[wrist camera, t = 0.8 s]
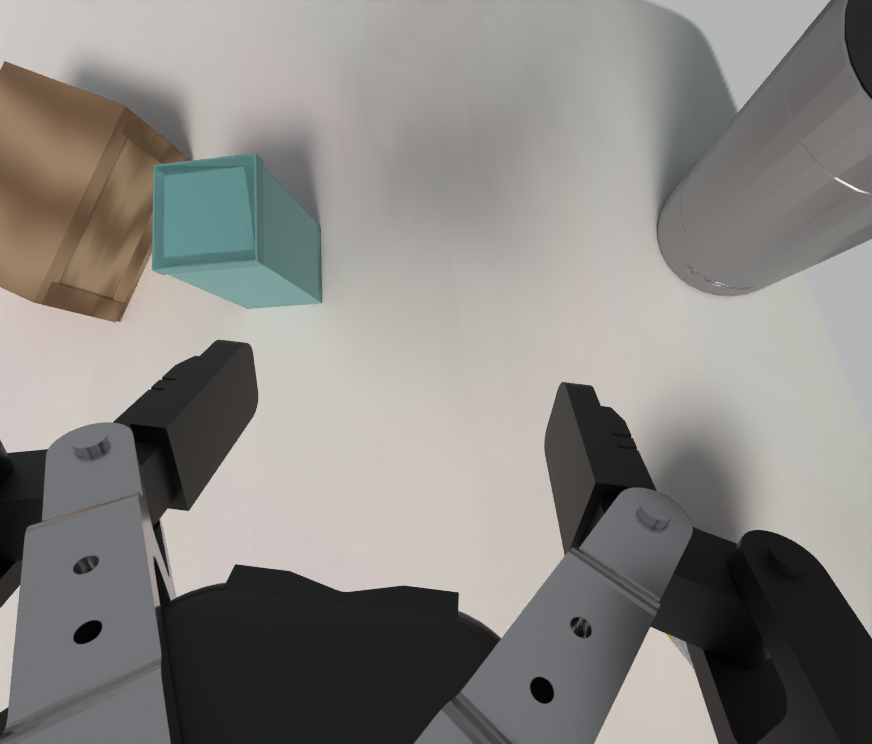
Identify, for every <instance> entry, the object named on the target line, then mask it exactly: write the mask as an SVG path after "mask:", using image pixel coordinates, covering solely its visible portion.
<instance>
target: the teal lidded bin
mask: <svg viewBox="0 0 872 744" xmlns="http://www.w3.org/2000/svg"><path fill="white" fill-rule="evenodd" d="M152 271H154V272H157V273H159V274H162V275H166V274H167V275H170V276H172V277H174V278H177V279H179V280H181V281H184V282H186V283H189V284H191V285H193V286H196V287H198V288H200V289H203V290H205V291H207V292H210V293H212V294H214V295H217V296H219V297H221V298H224V299H226V300H228V301H231V302H233V303H235V304H238V305H240V306H242V307H245V308H247V309H250V308H263V307H276V306H290V305H303V304H316V303H322V282H321V238H320V226H319V225H318V224H317V223H316V222H315V221H314V220H313V219H312V217H311V216H310V215H309V214H308V213H307V212H306V211H305V210H304V209H303V208H302V207H301V205H300V204H299V203H298V202H297V201H296V200H295V199H294V198H293V197H292V196H291V195H290V193H289V192H288V191H287V190H286V189H285V188H284V187H283V186H282V185H281V184H280V183H279V181H278V180H277V179H276V178H275V177H274V176H273V175H272V174H271V173H270V172H269V171H268V169H267V168H266V167H265V166H264V165H263V160H262V159H261V158H260V157H259V156H258V155H257V154H256V153H254V154H245V155H237V156H228V157H219V158H211V159H202V160H194V161H185V162H176V163H168V164H159V165H153V242H152Z"/></svg>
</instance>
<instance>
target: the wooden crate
mask: <svg viewBox="0 0 872 744" xmlns="http://www.w3.org/2000/svg"><path fill="white" fill-rule="evenodd" d="M185 161H190V160H189V159H188V158H187V157H185V156H184V155H183V154H182V153H181V152H179V151H178V150H177V149H176V148H175V147H174V146H172V145H171V144H170V143H169V142H168V141H166V140H165V139H164V138H163V137H162V136H160V135H159V134H158V133H157V132H156V131H154V130H153V129H152V128H151V127H150V126H148V125H147V124H146V123H145V122H144V121H143V120H141V119H140V118H139V117H138V116H137V115H135V114H134V113H133V112H132V111H130V110H129V109H128V108H127V107H126V106H124V105H121V104H118V103H116V102H113V101H110V100H108V99H105V98H102V97H100V96H97V95H94V94H91V93H89V92H86V91H83V90H81V89H78V88H75V87H73V86H70V85H67V84H65V83H62V82H59V81H57V80H54V79H51V78H48V77H46V76H43V75H40V74H38V73H35V72H32V71H30V70H27V69H24V68H22V67H19V66H16V65H13V64H11V63H8V62H5V61H4V64H3V66H2V68H1V70H0V287H2V288H4V289H6V290H8V291H10V292H12V293H15V294H17V295H19V296H21V297H23V298H25V299H27V300H30V301H32V302H34V303H39V304H42V305H46V306H50V307H55V308H59V309H63V310H67V311H71V312H75V313H79V314H84V315H88V316H92V317H96V318H100V319H104V320H109V321H113V322H116V321H119V322H120V320H121V318H122V316H123V313H124V311H125V309H126V307H127V305H128V302H129V300H130V298H131V296H132V294H133V292H134V289H135V287H136V285H137V283H138V281H139V278H140V276H141V274H142V272H143V270H144V267H145V265H146V263H147V261H148V259H149V257H150V254H151V252H152V242H153V165H159V164H168V163H176V162H185Z"/></svg>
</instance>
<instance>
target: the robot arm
mask: <svg viewBox="0 0 872 744" xmlns="http://www.w3.org/2000/svg"><path fill="white" fill-rule="evenodd" d="M870 239H872V0H831V1H830V2H829V3H828V4H827V5H826V7H825V8H824V9H823V10H822V12H821V13H820V14H819V15H818V16H817V18H816V19H815V20H814V21H813V22H812V24H811V25H810V26H809V27H808V28H807V30H806V31H805V32H804V34H803V35H802V36H801V37H800V39H799V40H798V41H797V42H796V43H795V45H794V46H793V47H792V48H791V50H790V51H789V52H788V53H787V54H786V56H785V57H784V58H783V59H782V60H781V62H780V63H779V64H778V65H777V66H776V68H775V69H774V70H773V71H772V72H771V74H770V75H769V76H768V77H767V78H766V80H765V81H764V82H763V84H762V85H761V86H760V87H759V88H758V89H757V91H756V92H755V93H754V94H753V95H752V97H751V98H750V99H749V100H748V101H747V103H746V104H745V105H744V106H743V108H742V109H741V110H740V111H739V112H738V113H737V115H736V116H735V117H734V118H733V120H732V121H731V122H730V123H729V124H728V126H727V127H726V128H725V129H724V130H723V132H722V133H721V134H720V135H719V136H718V138H717V139H716V140H715V141H714V142H713V144H712V145H711V146H710V147H709V148H708V150H707V151H706V152H705V153H704V155H703V156H702V157H701V158H700V159H699V160H698V161H697V163H696V164H695V165H694V166H693V167H692V169H691V170H690V171H689V172H688V174H687V175H686V176H685V177H684V178H683V180H682V181H681V182H680V183H679V184H678V186H677V187H676V188H675V189H674V191H673V192H672V193H671V195H670V196H669V197H668V199H667V200H666V202H665V204H664V206H663V209H662V211H661V213H660V217H659V223H658V241H659V245H660V248H661V252H662V255H663V256H664V258H665V260H666V262H667V264H668V266H669V267H670V268H671V269H672V270H673V271H674V273H675V274H676V275H677V276H678V277H679V278H681V279H682V280H683V281H685V282H686V283H687V284H688V285H690V286H692V287H694V288H696V289H698V290H701V291H703V292H707V293H710V294H714V295H722V296H736V295H744V294H749V293H752V292H754V291H757V290H760V289H763V288H765V287H767V286H769V285H771V284H774V283H776V282H778V281H780V280H782V279H785V278H787V277H789V276H791V275H793V274H796V273H798V272H801V271H803V270H805V269H807V268H809V267H812V266H814V265H816V264H818V263H820V262H822V261H825V260H827V259H829V258H831V257H833V256H835V255H838V254H840V253H842V252H844V251H846V250H849V249H851V248H853V247H855V246H857V245H860V244H862V243H864V242H866V241H868V240H870ZM257 404H258V388H257V380H256V373H255V365H254V357H253V351H252V348H251V346H250V344H248V343H242V342H234V341H226V340H217V341H215V342H214V343H213V344H212V345H211V346H210V347H209V348H208V349H207V350H206V351H205V352H204V353H202V354H201V355H200V356H194V357H191V358H189V359H187V360H185V361H183V362H181V363H179V364H177V365H175V366H174V367H173V368H172V369H171V370H170V371H169V372H167V373H166V374H165V375H164V376H163V377H162V380H159V381H158V382H157V383H155V384H154V385H153V386H152V388H151V390H148V391H147V392H146V393H144V394H143V395H142V396H141V397H140V398H139V399H138V400H137V401H136V402H135V403H134V404H132V405H131V406H130V407H129V408H128V409H127V410H126V411H125V412H124V413H123V414H122V415H120V416H119V417H118V418H117V419H116V420H115V421H114V422H113V423H111V422H110V423H96V424H91V425H87V426H83V427H80V428H78V429H75V430H73V431H71V432H68V433H67V434H65V435H63V436H62V437H60V438H59V439H57V440H56V441H55V442H54V443H53V444H52V445H51V446H50V447H49V449H46V450H36V451H25V452H14V453H7V452H6V450H5V448H4V446H3V444H2V442H1V441H0V608H1V607H2V605H3V604H4V603H5V602H6V601H7V600H8V598H9V597H10V596H11V595H12V594H13V592H14V591H15V590H16V589H17V588H18V587H19V585H20V593H19V603H18V614H17V624H16V635H15V645H14V656H13V666H12V677H11V687H10V698H9V707H8V708H6V709H5V710H3V711H2V712H0V744H594V742H595V740H596V738H597V736H598V734H599V732H600V730H601V728H602V726H603V724H604V721H605V719H606V717H607V715H608V713H609V711H610V709H611V707H612V705H613V703H614V701H615V699H616V697H617V694H618V692H619V690H620V688H621V686H622V684H623V682H624V680H625V678H626V676H627V674H628V672H629V670H630V667H631V665H632V663H633V661H634V659H635V657H636V655H637V653H638V651H639V649H640V647H641V645H642V643H643V640H644V638H645V636H646V634H647V632H648V630H649V628H650V627H653V628H655V629H657V630H660V631H662V632H664V633H666V634H669V635H671V636H673V637H676V638H678V639H680V640H683V641H685V642H686V645H687V648H688V651H689V654H690V657H691V660H692V663H693V667H694V670H695V673H696V676H697V679H698V682H699V685H700V688H701V691H702V694H703V697H704V700H705V703H706V706H707V709H708V713H709V716H710V719H711V722H712V725H713V728H714V731H715V734H716V737H717V740H718V743H719V744H872V638H871V637H870V635H869V634H868V632H867V631H866V629H865V628H864V626H863V625H862V623H861V622H860V620H859V619H858V617H857V616H856V614H855V613H854V611H853V610H852V608H851V607H850V605H849V604H848V603H847V601H846V600H845V598H844V597H843V595H842V594H841V592H840V591H839V589H838V588H837V586H836V585H835V583H834V582H833V580H832V579H831V577H830V576H829V574H828V573H827V571H826V570H825V568H824V567H823V566H822V564H821V563H820V562H819V561H818V560H817V559H816V558H815V557H814V556H813V555H812V554H811V553H810V552H808V551H807V550H806V549H804V548H803V547H802V546H800V545H799V544H797V543H796V542H794V541H792V540H790V539H788V538H786V537H784V536H782V535H779V534H776V533H773V532H769V531H764V530H753V531H749V532H747V533H745V534H744V536H743V537H742V538H741V540H740V541H739V543H738V544H736V543H733V542H731V541H728V540H725V539H722V538H720V537H717V536H714V535H711V534H709V533H706V532H703V531H701V530H698V529H696V528H694V527H692V523H691V520H690V518H689V517H688V515H687V514H686V512H685V511H684V510H683V509H682V508H681V507H680V506H679V505H678V504H677V503H676V502H674V501H673V500H672V499H670V498H669V497H667V496H665V495H663V494H661V493H659V492H657V490H656V488H655V486H654V484H653V482H652V479H651V477H650V475H649V473H648V471H647V468H646V466H645V464H644V462H643V460H642V458H641V455H640V453H639V451H637V447H636V444H635V442H634V440H633V438H631V433H630V431H629V429H628V427H627V425H626V422H625V421H624V420H623V419H622V418H621V417H620V416H619V415H618V414H617V413H616V412H615V411H614V410H613V409H612V408H611V407H604V406H601V405H600V403H599V400H598V398H597V395H596V393H595V390H594V388H593V387H592V386H591V385H583V384H574V383H566V382H562V383H561V384H560V386H559V388H558V391H557V394H556V398H555V401H554V405H553V408H552V412H551V415H550V419H549V422H548V426H547V429H546V434H545V446H544V447H545V456H546V461H547V467H548V472H549V477H550V482H551V487H552V492H553V497H554V502H555V508H556V513H557V518H558V523H559V528H560V533H561V538H562V544H563V549H564V554H565V557H564V558H563V559H562V560H561V562H560V563H559V564H558V566H557V567H556V568H555V570H554V571H553V572H552V573H551V575H550V576H549V577H548V579H547V580H546V581H545V583H544V584H543V585H542V586H541V588H540V589H539V590H538V592H537V593H536V594H535V596H534V597H533V598H532V600H531V601H530V602H529V603H528V605H527V606H526V607H525V609H524V610H523V611H522V613H521V614H520V615H519V616H518V618H517V619H516V620H515V622H514V623H513V624H512V626H511V627H510V628H509V629H508V631H507V632H506V633H505V635H504V636H503V637H502V639H501V638H500V637H499V636H498V635H497V634H496V633H495V632H493V631H492V630H491V629H490V628H488V627H487V626H485V625H484V624H483V623H481V622H480V621H478V620H476V619H474V618H472V617H471V616H469V615H467V614H464V613H462V612H460V611H458V597H459V593H458V592H450V591H442V590H434V589H426V588H419V587H411V586H396V587H388V588H379V589H371V590H362V591H354V592H341V591H337V590H335V589H332V588H330V587H328V586H325V585H323V584H320V583H318V582H315V581H313V580H310V579H308V578H305V577H303V576H300V575H298V574H295V573H293V572H290V571H284V570H276V569H268V568H260V567H252V566H244V565H236V564H235V566H234V568H233V570H232V572H231V574H230V576H229V578H228V580H227V582H226V583H220V584H215V585H211V586H206V587H203V588H200V589H197V590H194V591H191V592H188V593H186V594H184V595H181V596H179V597H176V593H175V588H174V583H173V578H172V572H171V567H170V562H169V557H168V551H167V546H166V541H165V535H164V530H163V526H162V522H161V519H160V518H161V517H162V515H163V514H164V512H165V511H166V510H167V508H170V509H178V510H186V511H189V510H190V508H191V507H192V506H193V504H194V503H195V501H196V500H197V498H198V497H199V495H200V494H201V492H202V491H203V489H204V488H205V486H206V485H207V484H208V482H209V481H210V479H211V478H212V476H213V475H214V473H215V472H216V470H217V469H218V467H219V466H220V464H221V463H222V462H223V460H224V459H225V457H226V456H227V454H228V453H229V451H230V450H231V448H232V447H233V445H234V444H235V442H236V441H237V440H238V438H239V437H240V435H241V434H242V432H243V431H244V429H245V428H246V426H247V425H248V423H249V422H250V420H251V419H252V418H253V416H254V414H255V411H256V408H257Z"/></svg>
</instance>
